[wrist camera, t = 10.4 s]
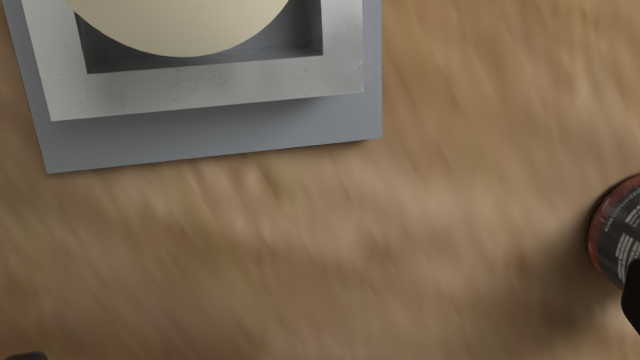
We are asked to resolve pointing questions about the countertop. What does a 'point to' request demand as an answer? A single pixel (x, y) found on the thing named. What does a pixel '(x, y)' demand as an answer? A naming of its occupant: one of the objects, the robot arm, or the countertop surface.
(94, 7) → the beech peg
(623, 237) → the supplement bottle
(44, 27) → the socket collar
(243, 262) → the countertop surface
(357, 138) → the socket plate
